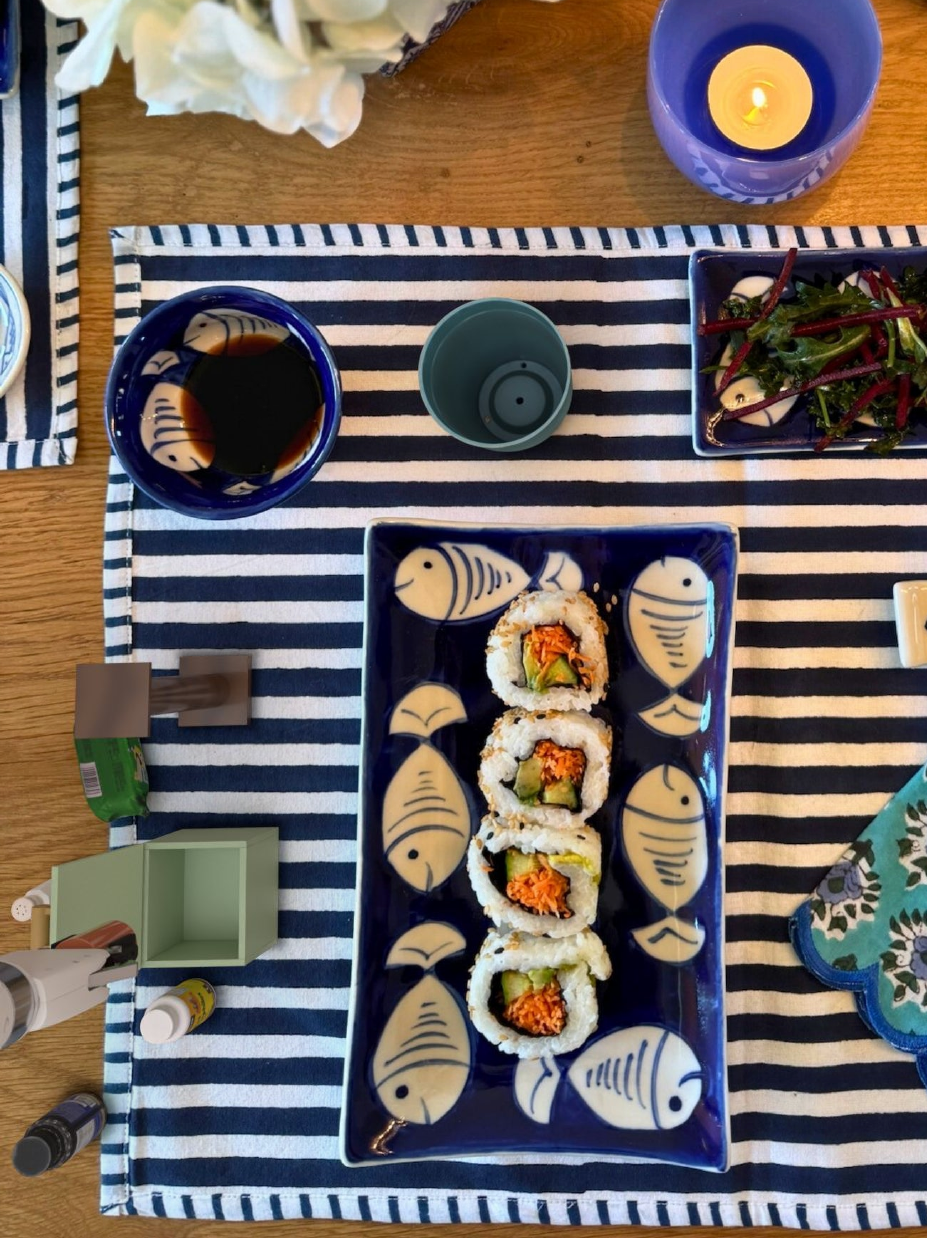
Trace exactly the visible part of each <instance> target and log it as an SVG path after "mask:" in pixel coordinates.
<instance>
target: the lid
mask: <svg viewBox="0 0 927 1238" xmlns="http://www.w3.org/2000/svg"><path fill="white" fill-rule="evenodd" d="M50 879H51V907H50V905H49V904H41V905H36V906H33V907H32V908H31V919H30V938H29V939H30V943H29V950H36V949H38V948H43V947H50V949H51V944H53V943H55V942H57V941H60V940H62V939H64V938H66V937H68V936H71V935H75V934H80V933H82V932H84V931H86V930H89V929H91V928H93V927H95V926H97V925H100V924H102V923H104V922H107V921H110V920H118V921H122V922H124V923H126V924H127V925H129V926H130V927H131V928H132V929H133V931H134V933H135V934H136V938H137V945H138V957H137V959H136V960H135V961H136V962H138V971H141V969H142V968H141V929H142V881H143V843H135V844H131V845H127V846H124V847H120V848H116V849H111V850H109V851H105V852H101V853H97V854H94V855H90V856H85V857H82V858H79V859H75V860H72V861H67V862H63V863H60V864H57V865H52V866H51V878H50ZM99 986H103V987H104V986H106V984H104V985H99ZM96 987H97V986H96Z"/></svg>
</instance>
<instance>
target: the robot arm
mask: <svg viewBox="0 0 927 1238" xmlns="http://www.w3.org/2000/svg"><path fill="white" fill-rule="evenodd" d="M76 935H78V934H75V935H71V936H68V937H66V938H64V939H62V940H60V941H57V942H55V943H53V944H51V949H50V947H43V948H38V949H36V950H30V949H23V950H15V951H11V952H8V953H5V954H2V955H0V1052H2V1051H3V1050H5V1049H7V1048H9V1047H10V1046H12V1045H14V1044H16V1043H17V1042H18V1041H20V1040H21V1039H23V1038H24V1037H25V1036H26V1035H27V1034H28V1033H30V1032H35V1031H39V1030H43V1029H47V1028H50V1027H52V1026H54V1025H58V1024H60V1023H63V1022H64V1021H68V1020H70V1019H71V1018H75V1017H76V1016H79V1015H80V1014H83V1013H84V1012H86V1011H89V1010H90V1009H93V1008H94V1007H96V1006H99V1005H100V1004H102V1003H103V1002H105V1001H107V999H108V998H109V997H110V992H111V987H107V986H105V985H108V984H112V983H116V982H120V981H124V980H127V979H128V980H129V979H132V978H137V977H138V976H139V970H138V962H136V961H135V960H136V959H137V957H138V945H137V944H136V934H135V933H130V934H127V935H125V936H123V937H121V938H119V939H117V940H115V941H113V942H111V943H109V945H108V948H106V949H55V948H56V946H57V945H59V944H60V943H61V942H63V941H65V940H67V939H69V938H71V937H73V936H76ZM105 962H106V968H102V966H103V965H104V964H105ZM104 984H105V985H104ZM99 985H103V986H99ZM96 986H97V987H96Z"/></svg>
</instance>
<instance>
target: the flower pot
mask: <svg viewBox="0 0 927 1238" xmlns="http://www.w3.org/2000/svg"><path fill="white" fill-rule="evenodd" d="M524 364H525V367H523V365H524ZM417 378H418V381H417V382H418V386H419V392H420V396H421V399H422V402H423V404H424V406H425V408H426V410H427V412H428V413H429V415H430V416H431V418H432V419H433V421H434V422H435V423H436V424H437V425H438V426H439V427H440V428H441V429H442V430H443V431H445V432H446V433H447V434H448V435H450V436H451V437H453V438H454V439H457V440H458V441H460V442H463V443H465V444H468V445H469V446H473V447H478V448H483V449H486V450H490V451H495V452H505V453H506V452H507V453H508V452H509V453H510V452H520V451H524V450H528V449H531V448H533V447H535V446H537V445H539V444H541V443H543V442H544V441H546V440H547V439H549V438H550V437H551V436H552V435H553V434H554V433H555V432H556V431H557V430H558V429H559V427H561V425H562V423H563V421H564V420H565V418H566V416H567V415H568V412H569V409H570V407H571V403H572V398H573V387H574V386H573V383H574V382H573V374H572V365H571V356H570V353H569V350H568V346H567V344H566V341H565V339H564V337H563V335H562V333H561V332H560V330H559V328H558V327H557V326H556V324H555V323H554V322H553V321H552V320H551V319H550V318H549V317H548V316H547V315H546V314H544V313H543V312H542V311H541V310H539V309H538V308H536V307H534V306H533V305H531V304H528V303H526V302H523V301H521V300H517V299H515V298H509V297H502V296H501V297H499V296H495V297H493V296H492V297H491V296H490V297H484V298H479V299H474V300H472V301H469V302H466V303H464V304H462V305H460V306H458V307H456V308H454V309H453V310H451V311H450V312H449V313H447V314H446V315H445V316H443V318H441V319H440V321H438V322H437V323H436V325H435V326H434V327H433V329H432V330H431V331H430V333H429V335H428V336H427V338H426V340H425V342H424V345H423V347H422V350H421V352H420V356H419V360H418V368H417ZM518 399H522V400H523V402H522V403H518V402H517V400H518ZM487 418H489V419H490V420H489V421H486V419H487Z"/></svg>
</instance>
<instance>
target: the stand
mask: <svg viewBox="0 0 927 1238" xmlns="http://www.w3.org/2000/svg"><path fill="white" fill-rule="evenodd" d="M252 656H253V655H252V654H230V655H229V654H227V655H226V654H225V655H191V656H190V655H189V656H188V655H187V656H186V655H185V656H179V662H178V664H179V665H178V675H169V676H153V677H152V670H153V662H152V661H147V662H146V661H145V662H144V661H143V662H142V661H141V662H103V663H102V662H101V663H100V662H99V663H98V662H97V663H76V664H75V691H74V692H75V696H74V723H75V729H74V735H73V740H74V739H87V738H130V737H139V738H150V737H151V724H152V723H151V718H152V717H154V716H161V715H168V714H169V715H170V714H178V717H177V719H178V720H177V726H178V727H216V726H217V727H219V726H220V727H221V726H248V725H249V726H250V725H251V724H252V669H253V667H252V666H253V665H252V663H253V662H252V661H253V657H252Z"/></svg>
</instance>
